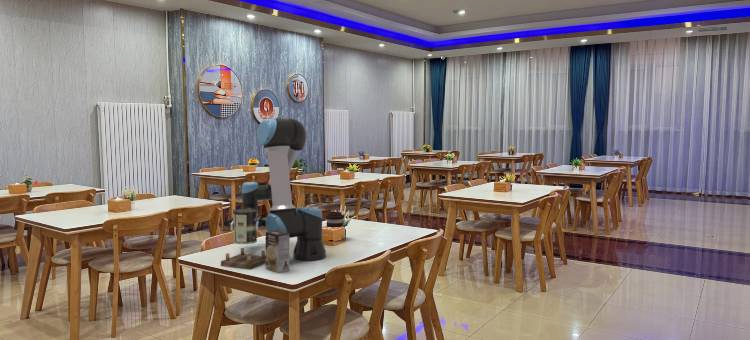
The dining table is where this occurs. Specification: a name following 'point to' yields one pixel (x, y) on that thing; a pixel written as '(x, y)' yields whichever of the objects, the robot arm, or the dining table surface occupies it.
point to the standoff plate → (244, 260)
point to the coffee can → (244, 226)
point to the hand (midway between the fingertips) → (244, 227)
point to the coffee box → (277, 251)
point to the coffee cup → (334, 219)
